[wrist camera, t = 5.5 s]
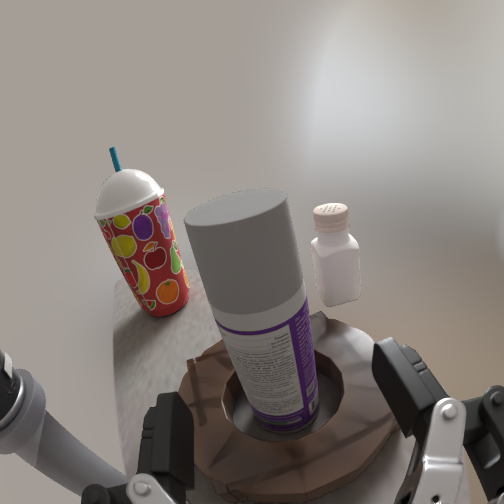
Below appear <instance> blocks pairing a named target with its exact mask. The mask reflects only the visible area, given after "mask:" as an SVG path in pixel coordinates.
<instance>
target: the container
mask: <svg viewBox="0 0 504 504" xmlns="http://www.w3.org/2000/svg"><path fill="white" fill-rule="evenodd" d="M184 223H185V227H186V230H187V234H188V237H189V241H190V244H191V247H192V250H193V253H194V257H195V260H196V263H197V266H198V270H199V273H200V276H201V279H202V282H203V285H204V288H205V291H206V294H207V297H208V300H209V303H210V306H211V309H212V312H213V315H214V318H215V321H216V323H217V326H218V328H219V331H220V333H221V336H222V338H223V341H224V343H225V346H226V348H227V351H228V353H229V356H230V358H231V361H232V363H233V366H234V368H235V370H236V373H237V375H238V377H239V380H240V382H241V384H242V387H243V389H244V391H245V394H246V396H247V398H248V400H249V403H250V405H251V407H252V409H253V412H254V414H255V416H256V418H257V420H258V422H259V423H260V425H261V426H262V427H264V428H265V429H266V430H268V431H270V432H273V433H277V434H290V433H295V432H298V431H300V430H302V429H304V428H306V427H307V426H308V425H310V424H311V423H312V422H313V420H314V419H315V418H316V416H317V413H318V410H319V396H318V386H317V376H316V366H315V357H314V348H313V340H312V331H311V323H310V316H309V308H308V301H307V294H306V289H305V283H304V277H303V272H302V267H301V261H300V256H299V251H298V246H297V241H296V236H295V231H294V226H293V221H292V216H291V211H290V207H289V202H288V198H287V194H286V193H285V192H284V191H282V190H278V189H272V188H261V189H252V190H245V191H239V192H235V193H231V194H227V195H224V196H220V197H218V198H215V199H212V200H210V201H208V202H205V203H203V204H201V205H199V206H197V207H195V208H194V209H193V210H191V211H190V212H188V214H186V216H185V217H184Z"/></svg>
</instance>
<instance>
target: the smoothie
mask: <svg viewBox="0 0 504 504" xmlns="http://www.w3.org/2000/svg"><path fill="white" fill-rule="evenodd" d="M109 150H110V154H111V157H112V161H113V164H114V168H115V171H116V172H115V173H113V174H112V175H111V176H109V178H107V179H106V180H105V182H104V183H103V185H102V186H101V188H100V190H99V193H98V197H97V203H96V213H95V216H94V217H95V219H96V220H97V222H98V224H99V227H100V229H101V231H102V233H103V235H104V237H105V240H106V242H107V244H108V246H109V248H110V250H111V252H112V254H113V256H114V258H115V260H116V262H117V264H118V266H119V268H120V270H121V272H122V274H123V276H124V278H125V279H126V281H127V283H128V285H129V287H130V289H131V290H132V292H133V294H134V296H135V298H136V299H137V301H138V303H139V305H140V306H141V308H142V309H144V310H146V311H147V312H148V313H149V314H151V315H152V316H157V317H158V316H166V315H169V314H172V313H174V312H176V311H178V310H179V309H180V308H182V307H183V306H184V305H185V304H186V302H187V300H188V291H189V289H190V288H189V283H188V280H187V277H186V273H185V270H184V267H183V263H182V260H181V257H180V253H179V249H178V245H177V242H176V238H175V234H174V231H173V227H172V223H171V219H170V215H169V212H168V208H167V204H166V200H165V196H164V189H163V188H161V187H159V186H158V184H157V183H156V182H155V181H154V180H153V178H152V177H150V176H149V175H148V174H146V173H144V172H142V171H139V170H135V169H123V170H121V167H120V164H119V160H118V157H117V153H116V150H115V147H112V148H110V149H109Z"/></svg>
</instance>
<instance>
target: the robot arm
mask: <svg viewBox="0 0 504 504" xmlns="http://www.w3.org/2000/svg"><path fill="white" fill-rule="evenodd" d="M371 369H372V374H373V377H374V379H375V381H376V383H377V385H378V387H379V389H380V390H381V392H382V394H383V396H384V398H385V400H386V402H387V403H388V405H389V407H390V409H391V411H392V413H393V415H394V417H395V419H396V421H397V422H398V424H399V426H400V428H401V430H402V432H403V434H404V436H405V438H407V437H409V436H411V435H413V434H414V436H415V438H416V442H415V446H414V449H413V453H412V456H411V460H410V463H409V467H408V470H407V473H406V476H405V479H404V481H403V484H402V485H401V487H400V489H399V491H398V494H397V496H396V499H395V501H394V504H433V503H432V502H433V501H434V504H455V502H456V498H457V494H458V491H459V487H460V483H461V478H462V474H463V464H462V463H461V462H460V456H461V451H462V445H463V446H464V448H465V450H466V452H467V454H468V456H469V458H470V460H471V462H472V464H473V467H474V469H475V471H476V473H477V476H478V478H479V480H480V483H481V485H482V487H483V490H484V492H485V495H486V497H487V500H488V504H504V387H503V386H499V385H496V386H492V387H490V388H489V389H487V391H486V392H485V394H484V395H483V396H481V397H477V398H474V399H470V400H466V401H460V400H458V399H456V398H451V397H449V396H448V395H447V394H446V392H445V391H444V389H443V388H442V386H441V385H440V384H439V382H438V381H437V379H436V378H435V377H434V375H433V374H432V372H431V371H430V370H429V369H428V368H427V365H426V364H425V363H424V361H422V359H421V357H420V356H419V354H418V353H417V352H416V351H415V350H414V349H412V348H410V347H409V346H407V345H403V346H399V345H398V344H397V342H396V341H395V340H394V339H393V338H392V337H389V338H387V339H384V340H382V341H379V342H376V343H374V346H373V355H372V364H371ZM25 395H26V383H25V381H24V379H23V378H22V377H21V376H20V374H19V373H18V372H16V371H15V369H14V368H13V367H12V360H11V359H10V357H9V356H8V355H7V353H5V356H4V355H3V353H2V352H1V350H0V431H1V430H3V429H4V428H6V427H7V426H8V425H9V424H10V423H11V422H12V421H13V420H14V418H15V417H16V416H17V414H18V413H19V411H20V409H21V407H22V405H23V402H24V399H25ZM186 490H195V484H194V418H193V415H192V412H191V410H190V409H189V408H188V406H187V405H186V403H185V402H184V400H183V399H182V398H181V396H180V395H179V393H178V392H171V393H162V394H159V395H158V397H157V404H156V407H150V408H149V410H148V412H147V414H146V415H145V417H144V423H143V430H142V439H141V444H140V452H139V461H138V469H137V473H136V475H134V476H133V477H131V478H130V479H129V481H128V483H126V484H124V485H120V486H115V487H111V488H105V487H103V486H101V485H99V484H91V485H89V486H87V487H86V488H85V489H84V491H83V493H82V500H81V504H191V503H190V501H189V500H188V499H187V498H186Z"/></svg>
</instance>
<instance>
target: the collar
mask: <svg viewBox="0 0 504 504" xmlns="http://www.w3.org/2000/svg"><path fill="white" fill-rule="evenodd" d="M310 323H311V331H312V340H313V348H314V357H315V366H316V370H318V371H319V372H321V373H323V374H324V375H326V376H328V377H330V378H331V379H332V380H333V382H334V383H335V384H336V386H337V387H338V389H339V390H340V391H341V395H342V399H341V402H340V405H339V408H338V410H337V412H336V413H335V414H334V415H333V416H332V418H331V419H330V420H329V421H328V422H327V423H326V424H325V425H324V426H323V427H321V428H320V429H319V430H317V431H315V432H313V433H311V434H308V435H306V436H304V437H301V438H299V439H297V440H294V441H279V442H265V441H262V440H259V439H256V438H253V437H251V436H248V435H245V434H243V433H242V432H241V431H240V430H239V429H238V428H237V427H236V426H235V425H234V422H233V419H232V416H233V410H234V404H235V401H236V399H237V398H238V396H239V395H240V393H241V392H242V390H243V387H242V384H241V382H240V380H239V377H238V375H237V373H236V370H235V368H234V366H233V363H232V361H231V358H230V356H229V353H228V351H227V348H226V346H225V343H224V341H223V339H222V340H221V341H219V342H218V343H216V344H215V345H213V346H212V347H210V348H208V349H207V350H206V351H204V353H203V354H202V355H201V356H199V357H196V358H193V359H189V360H187V367H188V372H187V373H186V374H185V375H184V377H183V379H182V382H181V385H180V388H179V391H178V393H179V395H180V396H181V398H182V399H183V400H184V402H185V403H186V405H187V406H188V408H189V409H190V410H191V412H192V415H193V418H194V464H195V465H196V466H197V467H198V469H199V470H200V471H201V472H202V473H203V474H204V475H205V476H206V477H207V478H209V479H210V480H211V481H212V482H213V485H214V489H215V492H216V495H217V496H218V497H220V498H221V499H223V500H225V501H226V502H228V503H234V502H238V501H240V500H245V499H250V500H253V501H255V502H270V503H276V502H305V501H310V500H313V499H315V498H317V497H320V496H322V495H324V494H327V493H329V492H331V491H333V490H335V489H337V488H339V487H342V486H344V485H346V484H348V483H350V482H352V481H353V480H355V479H356V478H357V477H358V476H359V475H360V474H361V473H362V472H363V471H364V469H365V468H366V467H367V466H368V465H369V464H370V463H371V461H372V460H373V459H374V458H375V457H376V455H377V454H378V453H379V452H380V451H381V449H382V448H383V447H384V445H385V443H386V441H387V439H388V436H389V435H391V434H393V433H394V432H396V431H397V430H399V429H400V426H399V424H398V422H397V421H396V419H395V417H394V415H393V413H392V411H391V409H390V407H389V405H388V403H387V402H386V400H385V398H384V396H383V394H382V392H381V390H380V389H379V387H378V385H377V383H376V381H375V379H374V377H373V374H372V369H371V364H372V355H373V346H374V343H376V342H375V341H374V340H373V339H372V338H371V337H370V336H369V335H368V334H367V333H365V332H363V331H360V330H358V329H356V328H354V327H351V326H349V325H347V324H344V323H342V322H340V321H338V320H335V319H328V318H327V317H326V316H325V314H323V312H322V311H320V312H317V313H315V314H314V315H311V316H310Z"/></svg>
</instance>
